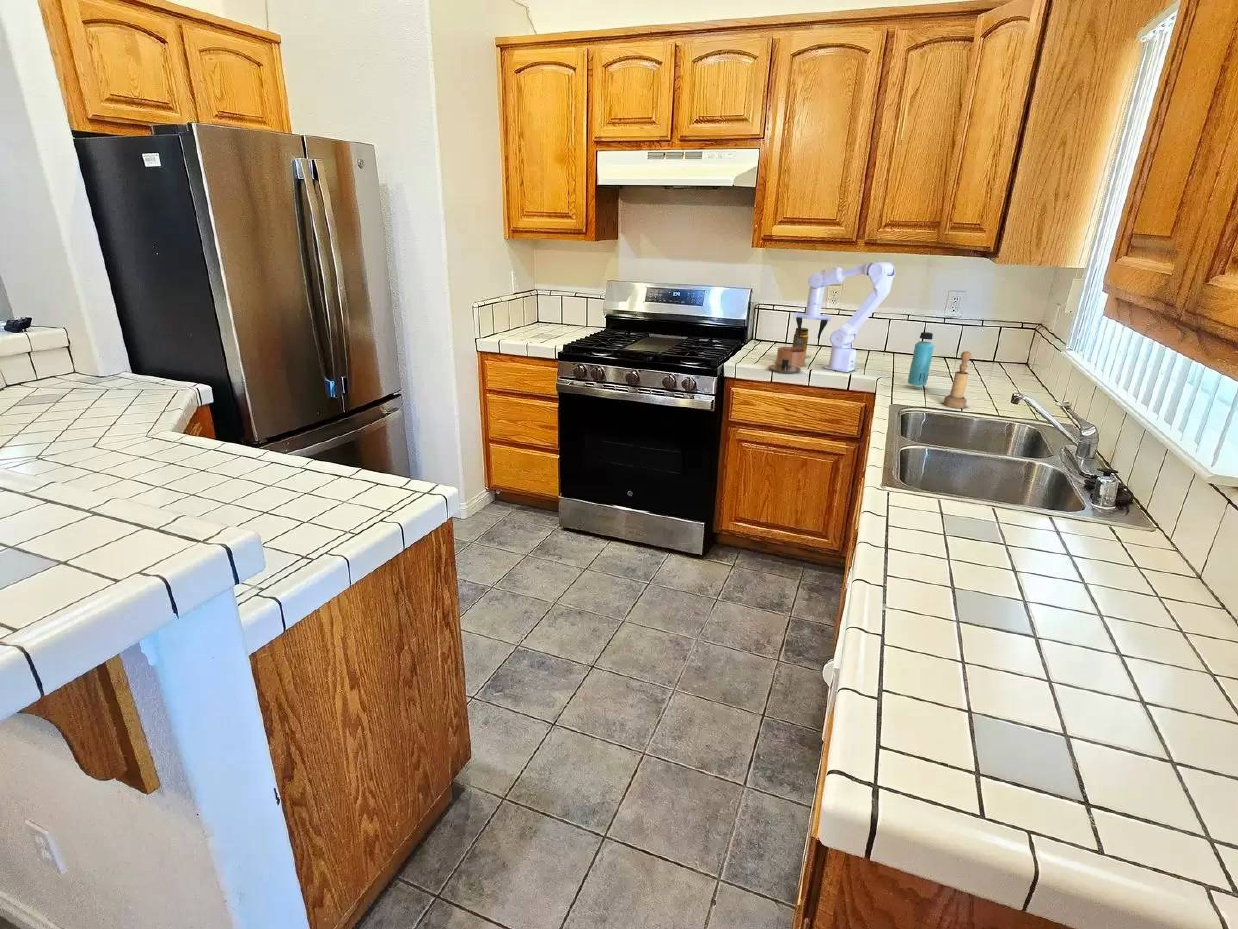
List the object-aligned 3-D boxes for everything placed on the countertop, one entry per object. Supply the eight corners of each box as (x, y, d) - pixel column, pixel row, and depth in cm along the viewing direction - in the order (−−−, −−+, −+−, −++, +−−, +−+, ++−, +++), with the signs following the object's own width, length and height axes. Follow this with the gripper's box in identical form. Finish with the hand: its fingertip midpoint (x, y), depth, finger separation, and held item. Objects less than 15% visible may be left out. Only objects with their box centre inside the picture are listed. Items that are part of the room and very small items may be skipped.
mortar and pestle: (944, 406, 213) (956, 352, 207) (942, 401, 219) (954, 348, 212) (966, 409, 211) (979, 354, 204) (964, 404, 217) (977, 350, 210)
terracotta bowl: (809, 364, 266) (811, 350, 264) (795, 368, 258) (797, 353, 256) (785, 359, 273) (787, 345, 271) (770, 363, 266) (772, 348, 263)
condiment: (809, 356, 281) (813, 328, 276) (798, 359, 275) (803, 330, 271) (794, 353, 286) (798, 326, 281) (784, 355, 280) (787, 328, 276)
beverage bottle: (916, 390, 232) (928, 334, 225) (902, 385, 237) (913, 331, 230) (929, 389, 234) (941, 333, 227) (915, 384, 240) (926, 330, 233)
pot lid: (805, 371, 254) (807, 359, 252) (789, 375, 246) (791, 364, 244) (778, 365, 262) (780, 354, 260) (762, 369, 253) (763, 358, 252)
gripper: (832, 303, 263) (826, 337, 268) (796, 300, 266) (790, 333, 271) (833, 306, 256) (827, 340, 262) (796, 302, 259) (790, 336, 265)
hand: (808, 337), depth 266 cm, fingers open, 7 cm apart
